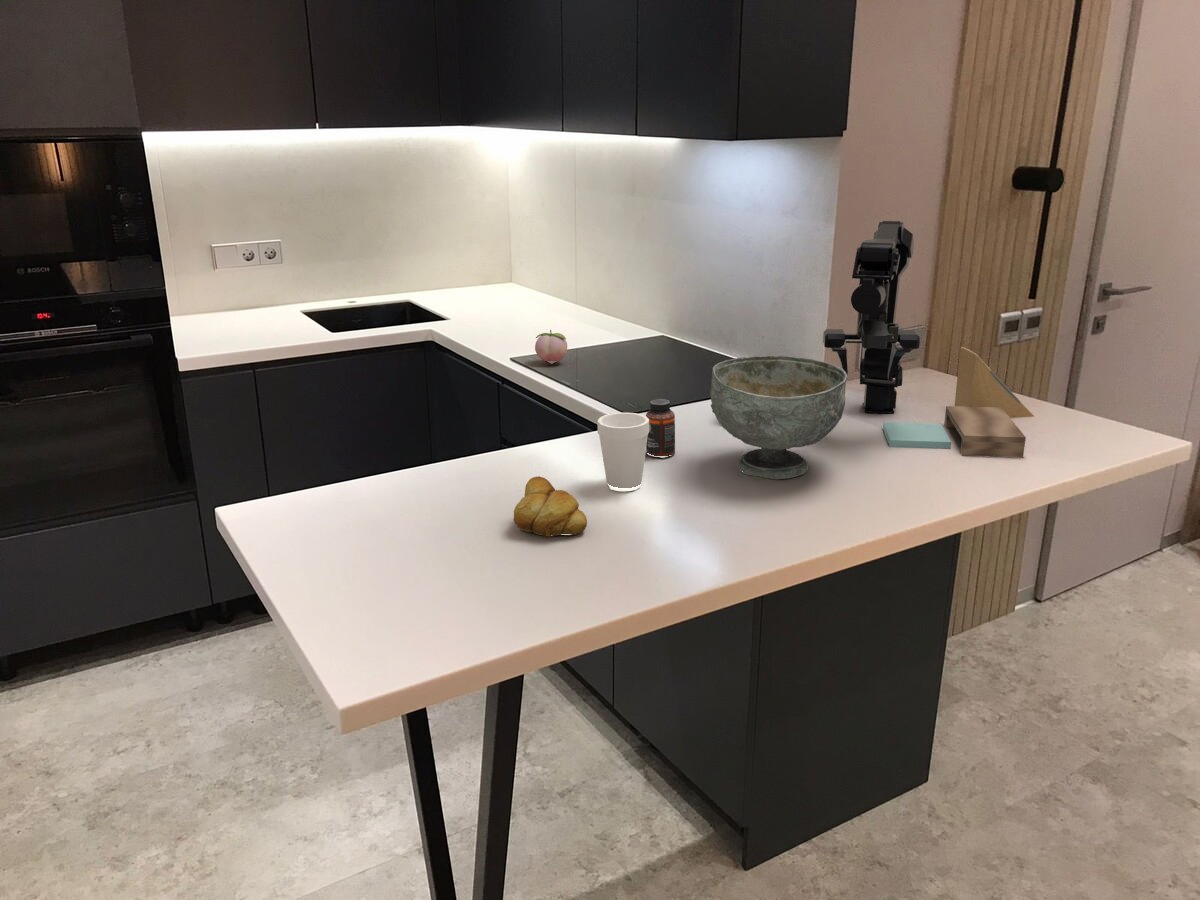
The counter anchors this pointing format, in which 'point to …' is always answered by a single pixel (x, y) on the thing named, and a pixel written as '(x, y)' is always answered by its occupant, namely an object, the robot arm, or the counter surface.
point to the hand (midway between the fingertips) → (867, 379)
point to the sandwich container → (984, 387)
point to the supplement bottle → (661, 428)
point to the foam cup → (623, 447)
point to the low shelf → (985, 431)
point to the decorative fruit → (551, 346)
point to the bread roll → (548, 510)
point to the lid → (916, 435)
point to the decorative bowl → (777, 408)
